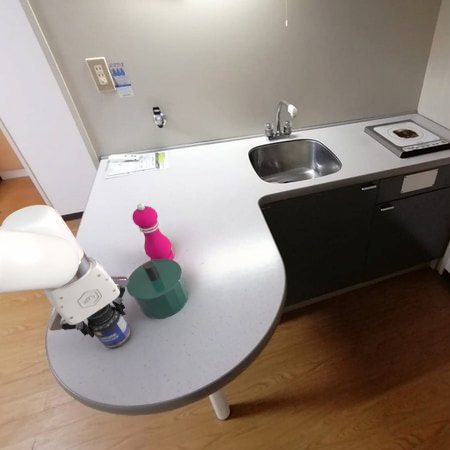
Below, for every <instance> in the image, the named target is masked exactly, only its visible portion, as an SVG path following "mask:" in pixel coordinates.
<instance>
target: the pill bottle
mask: <svg viewBox="0 0 450 450" xmlns="http://www.w3.org/2000/svg"><path fill="white" fill-rule="evenodd" d="M86 320H87V326H88V327H89V329H90V330H91V331H92V332H93V333H94V335H95V336H94V337H96V338H97V340H98V341H99V342H100V343H101V344H102V345H103V347H104V348H106V349H108V350H109V349H110V350H111V349H118V348H119V347H122V346H123V345H124V344H125V343H127V342H128V341H129V339H130V337H131V334H132V328H131V327H130V325H129V324H128V322H127V321H126V320H125V318H124V315H123V316H122V315H121V314H120V312H119V310H118V309H117V308H116V307H115V306H114V305H111V304H110V303H109V304H108V305H106V306H105V307H103V308H102V309H100V310H99V311H97V312H95V313H94V314H92V315H91V316H89V317H88V318H86Z"/></svg>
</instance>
